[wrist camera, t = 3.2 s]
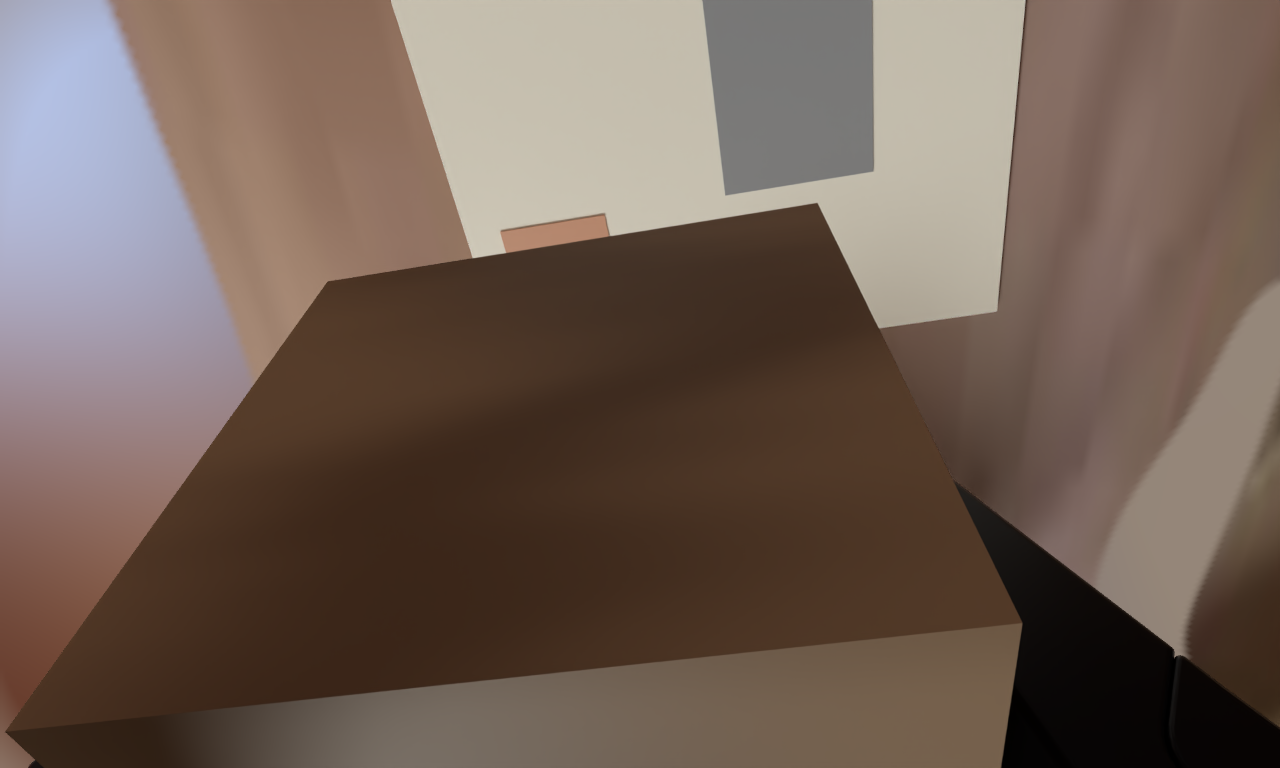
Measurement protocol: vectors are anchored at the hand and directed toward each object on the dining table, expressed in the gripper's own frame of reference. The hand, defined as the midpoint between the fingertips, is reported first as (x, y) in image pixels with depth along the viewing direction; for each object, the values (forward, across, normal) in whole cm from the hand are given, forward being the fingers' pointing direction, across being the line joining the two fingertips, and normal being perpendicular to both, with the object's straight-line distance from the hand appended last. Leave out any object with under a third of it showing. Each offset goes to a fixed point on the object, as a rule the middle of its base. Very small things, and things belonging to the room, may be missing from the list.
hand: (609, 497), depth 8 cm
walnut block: (+1, 0, 0) cm, 1 cm away
